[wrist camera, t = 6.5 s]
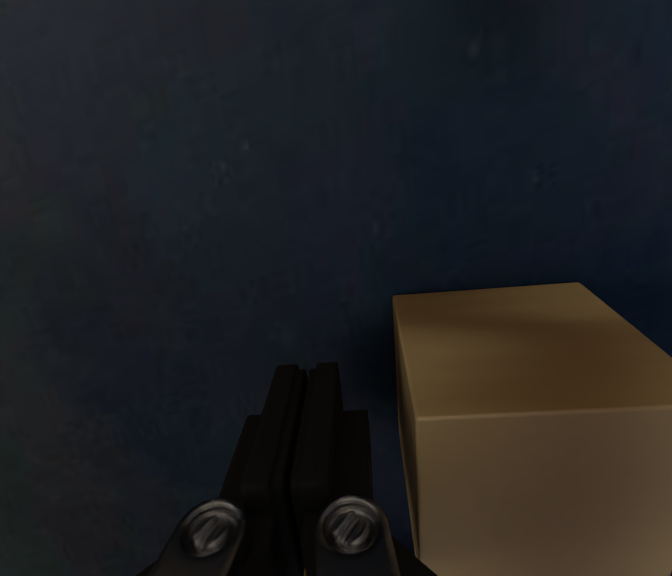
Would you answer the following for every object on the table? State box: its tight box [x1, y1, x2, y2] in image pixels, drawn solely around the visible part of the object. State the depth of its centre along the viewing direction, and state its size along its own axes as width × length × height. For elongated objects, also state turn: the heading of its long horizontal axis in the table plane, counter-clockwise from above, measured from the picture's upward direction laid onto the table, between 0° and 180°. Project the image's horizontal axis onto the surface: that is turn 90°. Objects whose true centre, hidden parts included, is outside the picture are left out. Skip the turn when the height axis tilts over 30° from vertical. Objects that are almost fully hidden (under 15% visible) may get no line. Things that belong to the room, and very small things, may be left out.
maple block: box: [392, 282, 672, 576], centre depth 10 cm, size 5×5×5 cm
